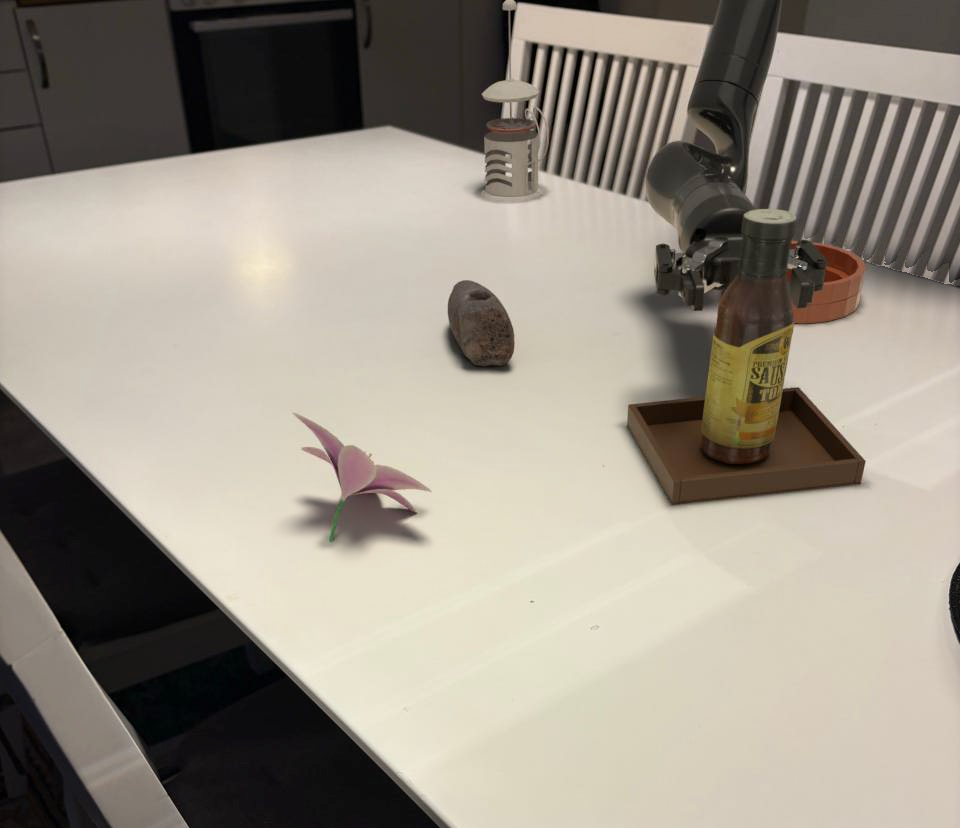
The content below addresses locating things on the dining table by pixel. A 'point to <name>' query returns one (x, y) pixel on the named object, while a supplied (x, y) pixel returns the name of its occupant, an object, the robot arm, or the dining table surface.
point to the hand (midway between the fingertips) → (751, 298)
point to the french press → (512, 141)
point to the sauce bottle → (751, 344)
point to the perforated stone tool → (480, 324)
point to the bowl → (833, 286)
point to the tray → (787, 467)
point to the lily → (358, 470)
